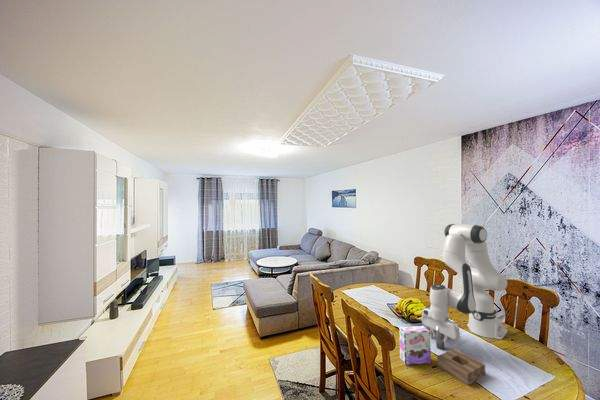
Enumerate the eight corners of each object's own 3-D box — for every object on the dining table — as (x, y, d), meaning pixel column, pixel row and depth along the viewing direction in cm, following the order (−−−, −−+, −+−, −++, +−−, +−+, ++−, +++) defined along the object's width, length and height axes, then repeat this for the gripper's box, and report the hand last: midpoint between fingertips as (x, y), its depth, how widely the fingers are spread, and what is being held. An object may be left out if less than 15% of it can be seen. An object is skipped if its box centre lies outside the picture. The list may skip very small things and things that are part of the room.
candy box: (405, 365, 117) (404, 332, 118) (399, 358, 123) (398, 326, 124) (431, 363, 118) (430, 330, 119) (424, 356, 124) (423, 325, 125)
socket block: (454, 358, 122) (454, 348, 122) (485, 375, 110) (485, 364, 110) (437, 366, 116) (437, 356, 116) (467, 385, 104) (467, 374, 104)
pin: (439, 345, 134) (438, 323, 134) (446, 348, 130) (445, 326, 131) (434, 346, 132) (434, 325, 132) (441, 350, 129) (440, 328, 129)
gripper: (462, 321, 124) (463, 347, 123) (426, 306, 142) (427, 329, 142) (454, 324, 121) (455, 351, 121) (419, 308, 139) (420, 332, 139)
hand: (440, 339), depth 131 cm, fingers closed on pin, 4 cm apart
